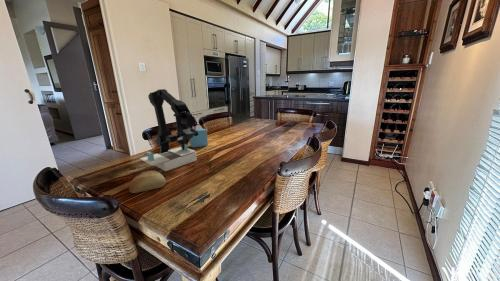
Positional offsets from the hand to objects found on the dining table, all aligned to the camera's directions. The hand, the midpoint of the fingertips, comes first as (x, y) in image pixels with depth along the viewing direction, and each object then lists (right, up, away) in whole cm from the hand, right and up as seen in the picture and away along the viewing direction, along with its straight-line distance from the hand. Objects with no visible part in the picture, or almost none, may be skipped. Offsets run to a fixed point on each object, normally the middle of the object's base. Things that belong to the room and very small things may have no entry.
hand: (184, 149), depth 126 cm
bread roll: (-6, -17, -33) cm, 37 cm away
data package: (+3, +1, +26) cm, 27 cm away
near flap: (-12, -5, -13) cm, 19 cm away
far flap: (-1, -1, -1) cm, 2 cm away
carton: (-4, -8, -3) cm, 9 cm away
